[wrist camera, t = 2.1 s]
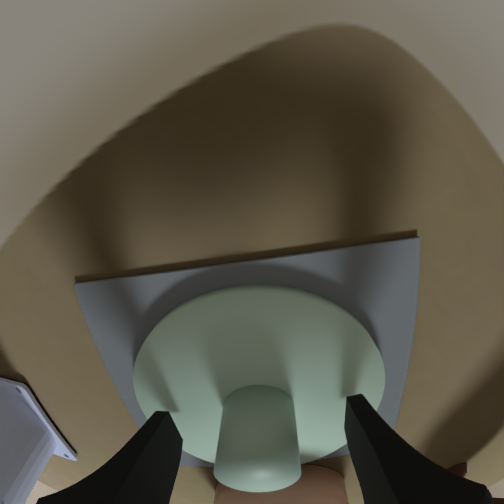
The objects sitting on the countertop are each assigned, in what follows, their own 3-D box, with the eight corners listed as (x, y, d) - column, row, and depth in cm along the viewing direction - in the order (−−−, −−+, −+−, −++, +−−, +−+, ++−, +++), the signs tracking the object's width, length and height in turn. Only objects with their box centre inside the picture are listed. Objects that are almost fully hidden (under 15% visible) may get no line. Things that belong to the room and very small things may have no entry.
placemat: (162, 461, 14) (162, 464, 14) (75, 282, 11) (73, 284, 11) (388, 441, 13) (389, 444, 13) (417, 236, 10) (420, 237, 10)
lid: (180, 459, 14) (166, 515, 10) (104, 300, 11) (46, 359, 7) (368, 442, 13) (385, 501, 9) (385, 263, 10) (446, 319, 6)
